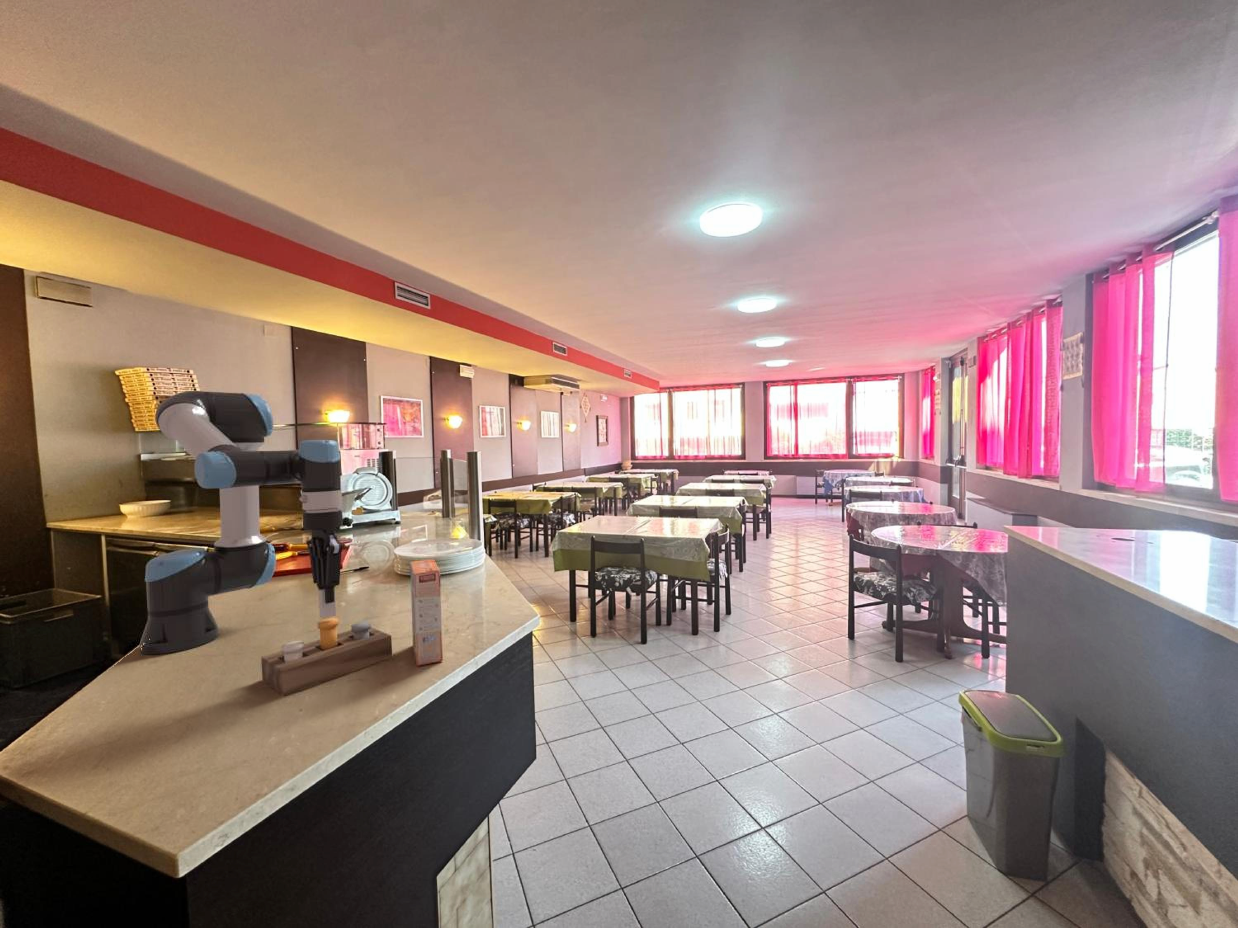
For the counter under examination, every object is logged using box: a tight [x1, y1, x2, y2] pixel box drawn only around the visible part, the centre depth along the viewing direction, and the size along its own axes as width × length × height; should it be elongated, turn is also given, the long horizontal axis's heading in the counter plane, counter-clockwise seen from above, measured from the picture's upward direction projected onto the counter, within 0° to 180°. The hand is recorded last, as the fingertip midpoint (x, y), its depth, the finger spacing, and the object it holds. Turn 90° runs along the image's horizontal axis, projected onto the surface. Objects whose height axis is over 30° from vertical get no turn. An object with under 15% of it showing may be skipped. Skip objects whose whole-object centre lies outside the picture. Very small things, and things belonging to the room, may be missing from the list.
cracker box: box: [409, 558, 444, 667], centre depth 117 cm, size 14×6×21 cm, turn 26°
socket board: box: [260, 626, 393, 697], centre depth 110 cm, size 12×22×5 cm, turn 142°
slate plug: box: [350, 621, 372, 641], centre depth 116 cm, size 4×4×7 cm
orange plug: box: [316, 617, 340, 651], centre depth 110 cm, size 4×4×7 cm
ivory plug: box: [281, 640, 305, 663], centre depth 105 cm, size 4×4×7 cm
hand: (328, 616), depth 110 cm, fingers closed
